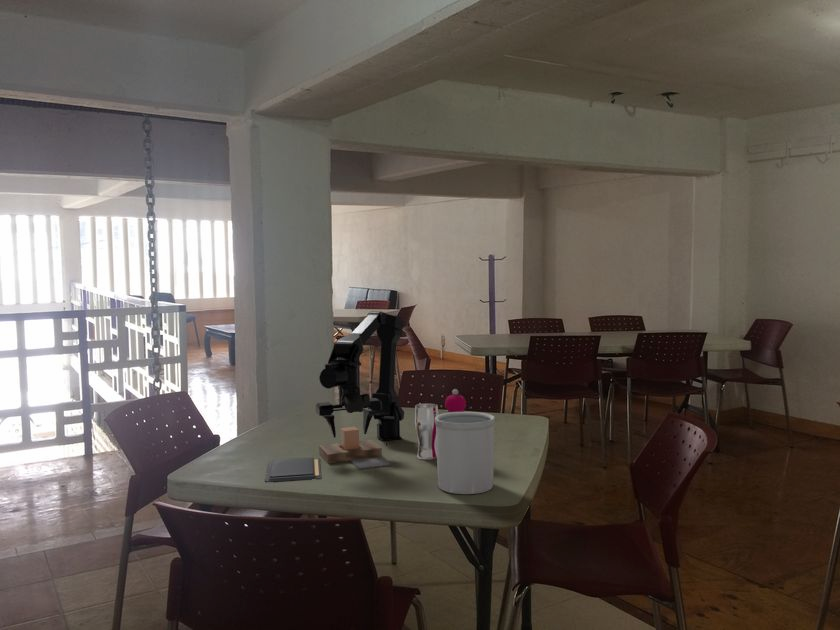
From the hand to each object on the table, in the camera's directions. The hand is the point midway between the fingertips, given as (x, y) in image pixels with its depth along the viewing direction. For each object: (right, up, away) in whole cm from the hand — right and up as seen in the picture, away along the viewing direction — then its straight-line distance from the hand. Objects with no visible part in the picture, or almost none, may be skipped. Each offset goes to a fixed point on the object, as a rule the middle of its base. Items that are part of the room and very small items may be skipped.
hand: (349, 435), depth 204 cm
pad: (+7, -6, -8) cm, 12 cm away
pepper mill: (+31, -6, -5) cm, 32 cm away
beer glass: (+23, -6, -3) cm, 24 cm away
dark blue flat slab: (-14, -8, -13) cm, 21 cm away
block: (0, -6, 0) cm, 6 cm away
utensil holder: (+32, -8, -30) cm, 45 cm away
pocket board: (0, -6, 0) cm, 6 cm away
